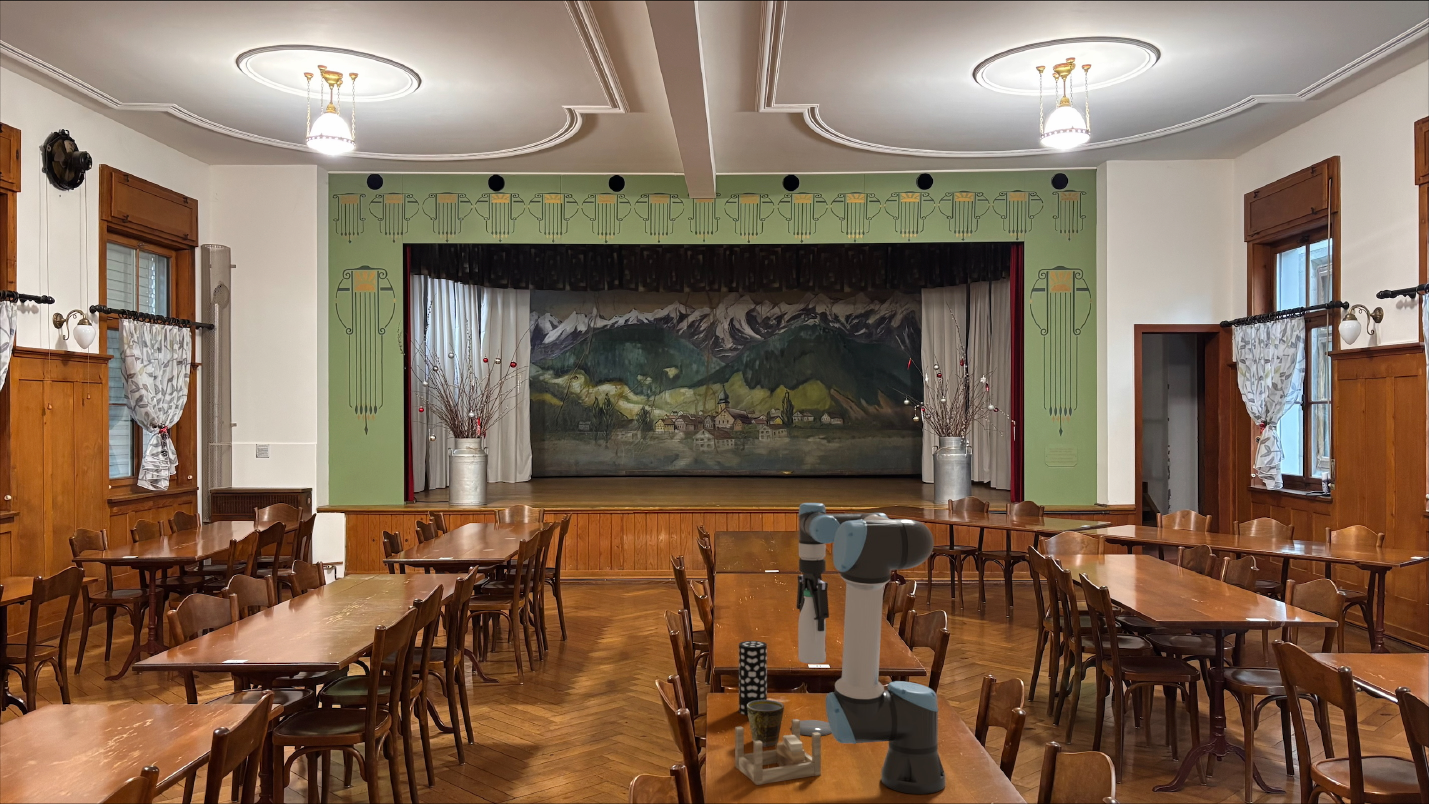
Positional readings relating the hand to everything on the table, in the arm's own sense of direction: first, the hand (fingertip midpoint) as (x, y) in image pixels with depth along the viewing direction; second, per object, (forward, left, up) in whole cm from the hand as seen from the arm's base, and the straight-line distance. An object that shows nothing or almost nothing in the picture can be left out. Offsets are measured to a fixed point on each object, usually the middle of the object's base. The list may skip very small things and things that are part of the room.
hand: (812, 638), depth 271 cm
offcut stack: (-25, +19, -25) cm, 40 cm away
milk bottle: (0, 0, -6) cm, 6 cm away
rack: (-25, +23, -25) cm, 42 cm away
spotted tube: (+21, +9, -25) cm, 34 cm away
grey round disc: (0, 0, -25) cm, 25 cm away
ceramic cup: (-6, +18, -25) cm, 32 cm away
